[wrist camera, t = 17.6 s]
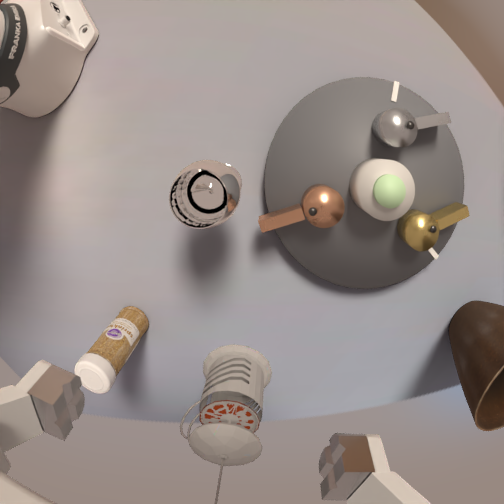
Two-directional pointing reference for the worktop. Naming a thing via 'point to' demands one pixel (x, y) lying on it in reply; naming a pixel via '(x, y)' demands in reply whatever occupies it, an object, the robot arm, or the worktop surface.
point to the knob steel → (403, 126)
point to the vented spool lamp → (230, 407)
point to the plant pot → (480, 360)
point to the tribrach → (361, 181)
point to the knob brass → (428, 225)
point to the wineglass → (205, 194)
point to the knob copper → (308, 210)
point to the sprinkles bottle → (111, 350)
